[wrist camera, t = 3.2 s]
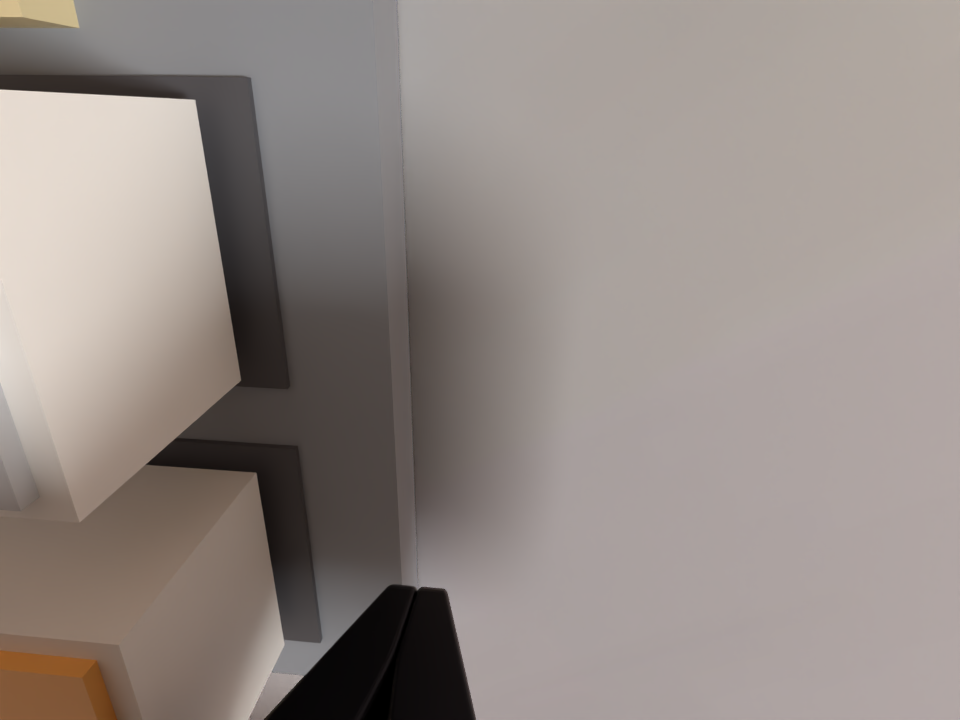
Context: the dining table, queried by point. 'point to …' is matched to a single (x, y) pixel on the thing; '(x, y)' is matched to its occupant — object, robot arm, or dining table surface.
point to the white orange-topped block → (141, 604)
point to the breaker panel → (282, 264)
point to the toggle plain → (103, 294)
